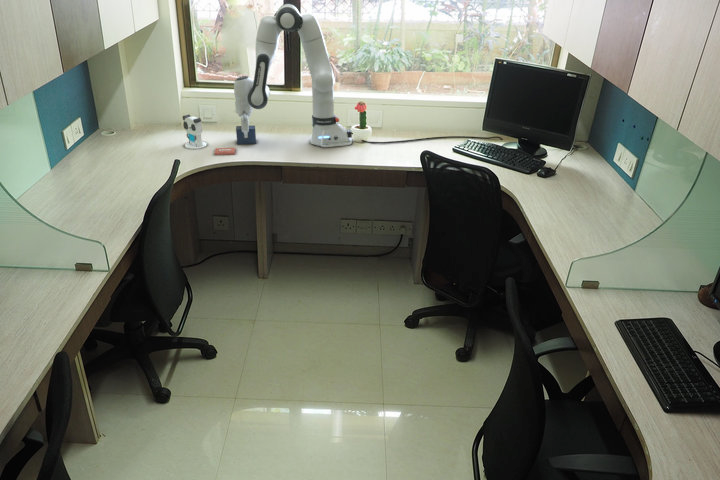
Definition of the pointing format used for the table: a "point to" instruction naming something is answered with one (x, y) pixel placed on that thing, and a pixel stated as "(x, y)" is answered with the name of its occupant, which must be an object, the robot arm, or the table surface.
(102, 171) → the table surface
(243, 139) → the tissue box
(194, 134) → the panda figurine
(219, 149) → the tissue packet
